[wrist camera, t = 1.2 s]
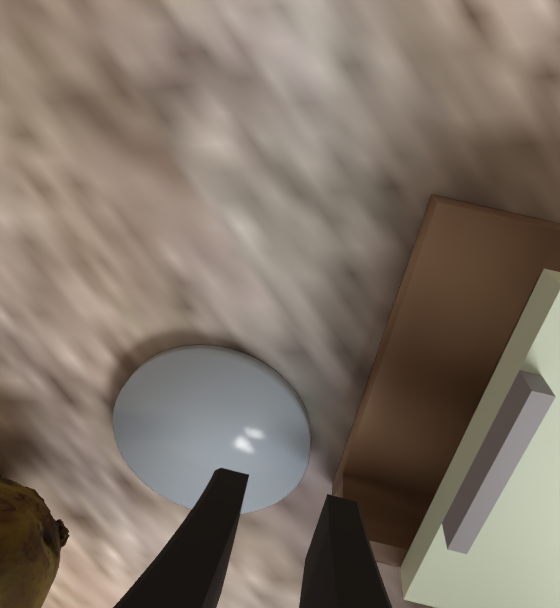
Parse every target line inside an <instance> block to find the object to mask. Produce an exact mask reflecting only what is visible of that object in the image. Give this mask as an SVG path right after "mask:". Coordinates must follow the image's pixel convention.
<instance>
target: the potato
mask: <svg viewBox="0 0 560 608" xmlns="http://www.w3.org/2000/svg"><path fill="white" fill-rule="evenodd" d="M68 533H69V531H68V529H67V528H66V527H65V526H64V524H63V521H61V520H60V519H59V520H57V521H55V520H54V519H53V517H52V515H51V514H50V510H49V509H48V507H47V506H46V504H45V502H44V499H43V498H41V497H40V496H39V494H38V493H37V492H36V490H34V489H31V488H28V487H24V486H22V485H20V484H18V483H17V482H14V481H12V480H9V479H6V478H2V477H0V608H41V607H42V605H43V603H44V601H45V599H46V597H47V594H48V592H49V590H50V587H51V585H52V583H53V581H54V579H55V577H56V574H57V571H58V568H59V562H60V550H61V547H63V546H65V544H66V542H67V539H68V538H69V536H70V535H69V534H68Z"/></svg>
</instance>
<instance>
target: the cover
mask: <svg viewBox="0 0 560 608" xmlns="http://www.w3.org/2000/svg"><path fill="white" fill-rule="evenodd" d="M400 574H401V584H402V593H403V600H407V601H411V602H415V603H419V604H423V605H427V606H431V607H435V608H560V272H557V271H553V270H548V269H543V271H542V273H541V275H540V278H539V280H538V282H537V284H536V286H535V288H534V290H533V292H532V294H531V296H530V298H529V300H528V303H527V305H526V307H525V309H524V311H523V313H522V315H521V317H520V319H519V321H518V323H517V325H516V328H515V330H514V332H513V334H512V336H511V338H510V340H509V342H508V344H507V346H506V348H505V350H504V353H503V355H502V357H501V359H500V361H499V363H498V365H497V367H496V369H495V371H494V373H493V376H492V378H491V380H490V382H489V384H488V386H487V388H486V390H485V392H484V394H483V396H482V398H481V401H480V403H479V405H478V407H477V409H476V411H475V413H474V415H473V417H472V419H471V421H470V423H469V426H468V428H467V430H466V432H465V434H464V436H463V438H462V440H461V442H460V444H459V446H458V448H457V451H456V453H455V455H454V457H453V459H452V461H451V463H450V465H449V467H448V469H447V471H446V473H445V476H444V478H443V480H442V482H441V484H440V486H439V488H438V490H437V492H436V494H435V496H434V499H433V501H432V503H431V505H430V507H429V509H428V511H427V513H426V515H425V517H424V519H423V521H422V524H421V526H420V528H419V530H418V532H417V534H416V536H415V538H414V540H413V542H412V544H411V546H410V549H409V551H408V553H407V555H406V557H405V559H404V561H403V563H402V565H401V567H400Z"/></svg>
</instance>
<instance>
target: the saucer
mask: <svg viewBox="0 0 560 608" xmlns="http://www.w3.org/2000/svg"><path fill="white" fill-rule="evenodd" d="M113 431H114V436H115V440H116V443H117V446H118V449H119V451H120V453H121V455H122V457H123V458H124V460H125V461H126V463H127V465H128V466H129V467H130V469H131V470H132V471H133V472H134V473H135V475H136V476H137V477H138V478H139V479H140V480H141V481H142V482H143V483H145V484H146V485H147V486H148V487H150V488H151V489H152V490H153V491H155V492H156V493H158V494H159V495H161V496H163V497H164V498H166V499H168V500H170V501H172V502H174V503H176V504H179V505H181V506H184V507H186V508H190V509H193V507H194V506H195V504H196V503H197V501H198V499H199V498H200V496H201V495H202V493H203V491H204V490H205V488H206V486H207V485H208V483H209V481H210V479H211V477H212V475H213V473H214V471H215V470H217V469H219V468H225V469H229V470H233V471H237V472H241V473H245V474H249V478H248V483H247V487H246V491H245V495H244V500H243V504H242V508H241V513H240V514H245V513H250V512H255V511H258V510H261V509H264V508H267V507H269V506H271V505H273V504H275V503H277V502H278V501H280V500H282V499H283V498H285V497H286V496H287V495H288V494H289V493H290V492H292V491H293V489H294V488H295V487H296V486H297V485H298V483H299V482H300V480H301V479H302V477H303V475H304V473H305V470H306V468H307V465H308V460H309V455H310V445H311V429H310V422H309V418H308V415H307V412H306V409H305V407H304V405H303V403H302V401H301V399H300V398H299V396H298V395H297V393H296V391H295V390H294V389H293V388H292V387H291V385H290V384H289V383H288V382H287V381H286V380H285V379H284V378H283V377H282V376H281V375H280V374H279V373H278V372H276V371H275V370H273V369H272V368H271V367H269V366H268V365H267V364H265V363H263V362H261V361H259V360H258V359H256V358H254V357H252V356H249V355H247V354H245V353H242V352H239V351H236V350H233V349H229V348H225V347H219V346H212V345H187V346H182V347H176V348H173V349H169V350H166V351H163V352H161V353H159V354H157V355H155V356H153V357H151V358H150V359H148V360H147V361H145V362H144V363H143V364H142V365H141V366H140V367H139V368H137V369H136V371H135V372H134V373H133V374H132V376H131V377H130V378H129V380H128V381H127V382H126V384H125V385H124V386H123V388H122V389H121V391H120V393H119V395H118V397H117V400H116V403H115V406H114V411H113Z"/></svg>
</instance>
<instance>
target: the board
mask: <svg viewBox="0 0 560 608" xmlns="http://www.w3.org/2000/svg"><path fill="white" fill-rule="evenodd" d="M543 269H548V270H553V271H557V272H560V224H558V223H554V222H550V221H545V220H541V219H536V218H532V217H528V216H523V215H519V214H515V213H510V212H506V211H502V210H497V209H493V208H489V207H484V206H480V205H475V204H471V203H467V202H462V201H458V200H454V199H449V198H445V197H441V196H436V195H431V198H430V201H429V204H428V207H427V210H426V212H425V215H424V218H423V221H422V224H421V227H420V230H419V233H418V236H417V239H416V242H415V245H414V248H413V250H412V253H411V256H410V259H409V262H408V265H407V268H406V271H405V274H404V277H403V280H402V283H401V286H400V288H399V291H398V294H397V297H396V300H395V303H394V306H393V309H392V312H391V315H390V318H389V321H388V324H387V327H386V329H385V332H384V335H383V338H382V341H381V344H380V347H379V350H378V353H377V356H376V359H375V362H374V365H373V367H372V370H371V373H370V376H369V379H368V382H367V385H366V388H365V391H364V394H363V397H362V400H361V403H360V405H359V408H358V411H357V414H356V417H355V420H354V423H353V426H352V429H351V432H350V435H349V438H348V441H347V443H346V446H345V449H344V452H343V455H342V458H341V461H340V464H339V467H338V470H337V473H336V476H335V479H334V481H333V484H332V496H336V497H340V498H344V499H348V500H352V501H356V502H357V503H358V505H359V506H360V508H361V513H362V516H363V520H364V524H365V528H366V531H367V535H368V538H369V541H370V545H371V548H372V551H373V554H374V557H375V560H376V561H377V562H380V563H384V564H388V565H392V566H396V567H401V565H402V563H403V561H404V559H405V557H406V555H407V553H408V551H409V549H410V546H411V544H412V542H413V540H414V538H415V536H416V534H417V532H418V530H419V528H420V526H421V524H422V521H423V519H424V517H425V515H426V513H427V511H428V509H429V507H430V505H431V503H432V501H433V499H434V496H435V494H436V492H437V490H438V488H439V486H440V484H441V482H442V480H443V478H444V476H445V473H446V471H447V469H448V467H449V465H450V463H451V461H452V459H453V457H454V455H455V453H456V451H457V448H458V446H459V444H460V442H461V440H462V438H463V436H464V434H465V432H466V430H467V428H468V426H469V423H470V421H471V419H472V417H473V415H474V413H475V411H476V409H477V407H478V405H479V403H480V401H481V399H480V398H481V396H482V394H483V392H484V390H485V388H486V385H487V383H488V381H489V379H490V377H491V375H492V373H493V371H494V369H495V367H496V365H497V362H498V360H499V358H500V356H501V354H502V352H503V350H504V348H505V346H506V344H507V342H508V339H509V337H510V335H511V333H512V331H513V329H514V327H515V325H516V323H517V321H518V319H519V316H520V314H521V312H522V310H523V308H524V306H525V304H526V302H527V300H528V298H529V296H530V293H531V291H532V289H533V287H534V285H535V283H536V281H537V279H538V277H539V275H540V273H542V271H543Z"/></svg>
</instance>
